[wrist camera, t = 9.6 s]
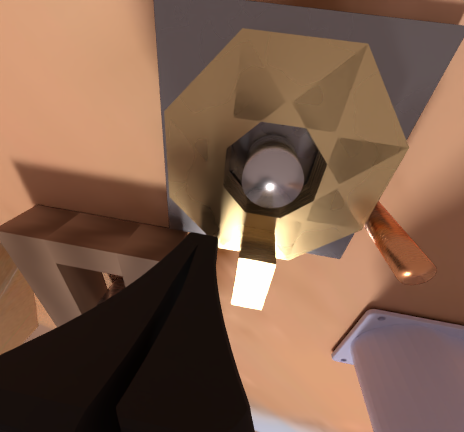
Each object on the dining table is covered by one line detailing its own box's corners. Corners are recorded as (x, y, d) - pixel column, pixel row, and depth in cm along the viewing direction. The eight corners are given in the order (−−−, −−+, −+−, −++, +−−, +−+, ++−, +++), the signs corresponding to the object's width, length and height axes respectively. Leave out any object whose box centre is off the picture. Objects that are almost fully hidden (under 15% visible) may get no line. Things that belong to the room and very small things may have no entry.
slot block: (187, 231, 15) (170, 263, 12) (188, 344, 24) (179, 375, 21) (37, 204, 15) (-8, 230, 13) (94, 324, 24) (74, 352, 22)
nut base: (475, 31, 8) (721, -20, 3) (347, 254, 14) (380, 331, 10) (159, -6, 8) (50, -86, 4) (172, 223, 14) (134, 282, 10)
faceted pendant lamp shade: (424, 58, 8) (545, 46, 4) (321, 263, 13) (339, 325, 10) (178, 28, 8) (116, -4, 5) (183, 238, 14) (157, 289, 11)
